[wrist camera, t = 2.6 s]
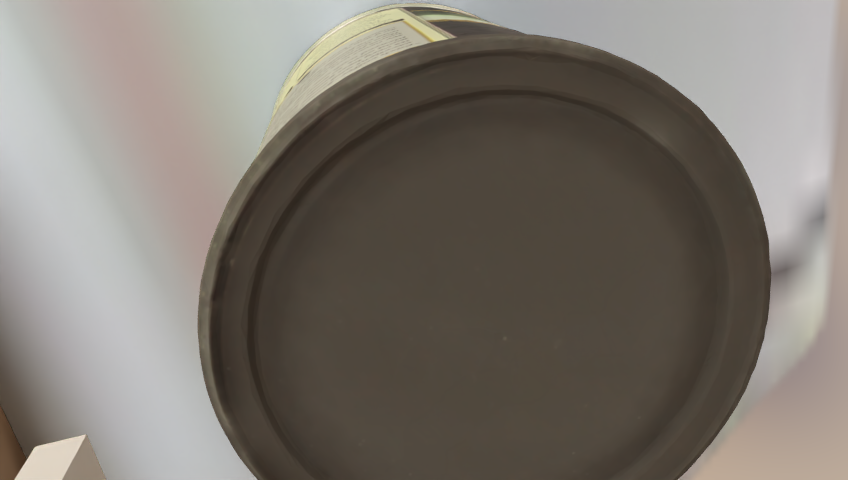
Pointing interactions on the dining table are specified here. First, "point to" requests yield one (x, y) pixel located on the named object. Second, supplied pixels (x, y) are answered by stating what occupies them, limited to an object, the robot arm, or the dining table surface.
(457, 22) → the coffee can
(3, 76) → the dining table surface
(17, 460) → the walnut plinth
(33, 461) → the robot arm
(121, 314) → the dining table surface
